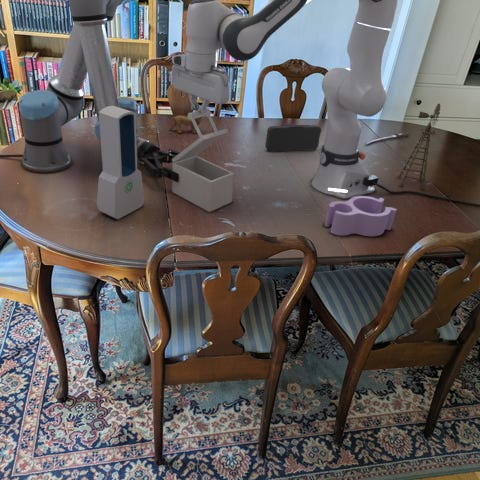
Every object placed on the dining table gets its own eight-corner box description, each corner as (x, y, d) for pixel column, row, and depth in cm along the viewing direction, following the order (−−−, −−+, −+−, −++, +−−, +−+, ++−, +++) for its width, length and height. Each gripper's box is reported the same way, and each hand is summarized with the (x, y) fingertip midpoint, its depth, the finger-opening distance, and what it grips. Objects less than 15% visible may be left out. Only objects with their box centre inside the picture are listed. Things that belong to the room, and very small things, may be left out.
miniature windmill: (423, 190, 169) (451, 109, 153) (399, 186, 170) (425, 105, 154) (420, 180, 177) (446, 101, 161) (397, 176, 178) (421, 97, 162)
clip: (337, 240, 135) (342, 219, 131) (318, 218, 145) (322, 198, 141) (395, 233, 141) (402, 213, 137) (373, 213, 151) (378, 194, 147)
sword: (404, 132, 222) (404, 130, 221) (409, 135, 220) (410, 132, 219) (360, 144, 206) (361, 142, 205) (366, 147, 204) (366, 144, 203)
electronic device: (115, 221, 132) (108, 118, 116) (96, 212, 135) (87, 110, 119) (145, 205, 142) (142, 107, 125) (126, 197, 145) (122, 101, 128)
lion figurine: (200, 128, 202) (201, 108, 197) (204, 133, 198) (205, 112, 193) (167, 129, 197) (167, 108, 192) (170, 134, 193) (170, 113, 188)
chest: (231, 202, 149) (234, 173, 143) (209, 212, 142) (211, 182, 137) (194, 183, 158) (195, 155, 152) (172, 192, 151) (172, 163, 146)
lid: (228, 132, 139) (214, 103, 138) (204, 139, 132) (189, 109, 132) (196, 155, 152) (184, 129, 151) (173, 163, 145) (159, 136, 145)
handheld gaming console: (315, 147, 196) (319, 124, 190) (317, 149, 194) (322, 126, 188) (264, 149, 189) (267, 125, 183) (266, 152, 187) (269, 127, 181)
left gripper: (169, 153, 170) (213, 174, 159) (118, 170, 155) (163, 194, 144) (169, 134, 166) (215, 153, 155) (117, 149, 151) (163, 172, 140)
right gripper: (236, 69, 126) (232, 119, 134) (183, 53, 137) (182, 100, 144) (221, 72, 122) (217, 123, 129) (167, 55, 132) (167, 104, 140)
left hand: (190, 173), depth 150 cm, fingers closed on chest, 10 cm apart
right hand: (198, 111), depth 137 cm, fingers closed
